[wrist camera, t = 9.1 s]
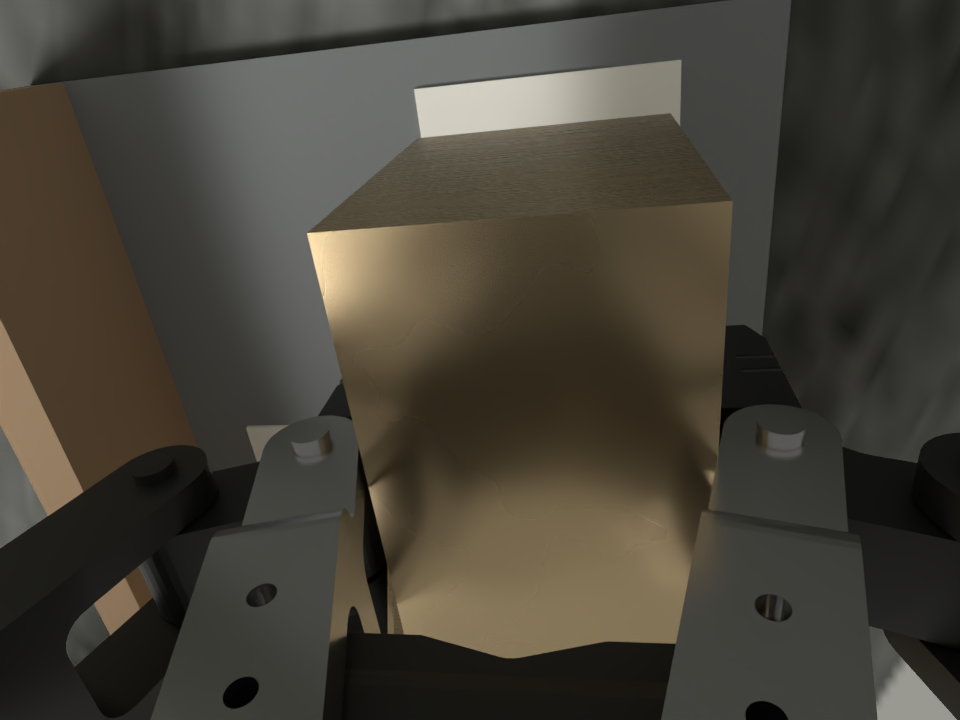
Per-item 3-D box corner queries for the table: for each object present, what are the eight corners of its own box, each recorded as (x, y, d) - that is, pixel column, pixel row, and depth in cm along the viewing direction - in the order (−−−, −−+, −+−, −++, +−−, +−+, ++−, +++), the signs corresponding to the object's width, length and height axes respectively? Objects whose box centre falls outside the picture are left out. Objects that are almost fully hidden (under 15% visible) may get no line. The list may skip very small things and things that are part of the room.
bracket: (663, 649, 16) (692, 897, 11) (267, 635, 18) (162, 846, 13) (670, 113, 10) (733, 201, 6) (92, 170, 12) (-187, 270, 8)
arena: (246, 641, 23) (180, 768, 20) (27, 85, 15) (-162, 116, 11) (730, 658, 21) (764, 809, 17) (786, -7, 12) (878, -10, 9)
